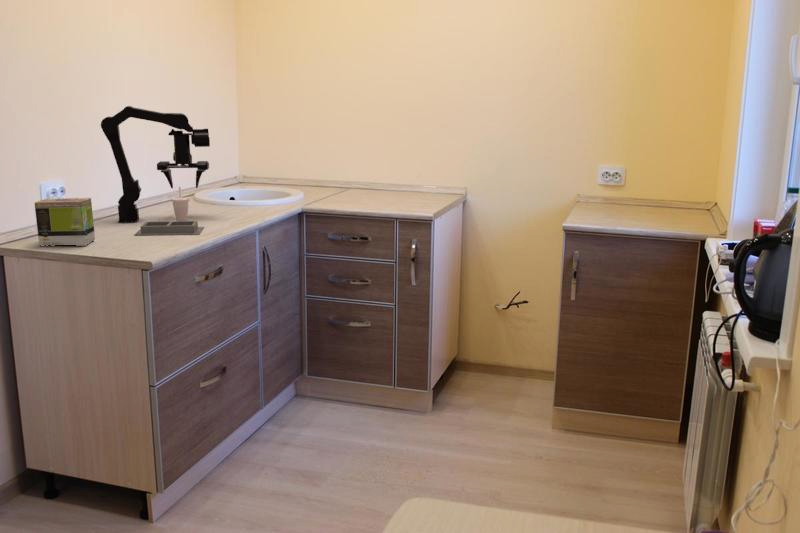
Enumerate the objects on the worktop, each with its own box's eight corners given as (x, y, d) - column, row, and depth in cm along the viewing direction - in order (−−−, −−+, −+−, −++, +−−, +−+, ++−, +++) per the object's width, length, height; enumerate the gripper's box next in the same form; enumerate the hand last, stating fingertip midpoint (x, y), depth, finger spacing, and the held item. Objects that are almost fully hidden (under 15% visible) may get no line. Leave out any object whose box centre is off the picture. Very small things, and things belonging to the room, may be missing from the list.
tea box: (95, 240, 265) (92, 197, 262) (85, 247, 255) (81, 201, 252) (50, 240, 265) (46, 197, 261) (38, 247, 255) (33, 201, 251)
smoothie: (172, 226, 291) (170, 188, 287) (173, 223, 297) (170, 186, 293) (190, 225, 292) (188, 187, 289) (190, 222, 298) (188, 185, 295)
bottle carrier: (134, 235, 273) (133, 227, 272) (141, 228, 286) (141, 220, 285) (199, 234, 276) (198, 226, 275) (203, 227, 288) (203, 219, 287)
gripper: (209, 145, 308) (211, 185, 311) (160, 145, 305) (163, 185, 309) (206, 147, 297) (208, 189, 301) (155, 148, 295) (158, 189, 298)
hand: (184, 188), depth 302 cm, fingers open, 9 cm apart
